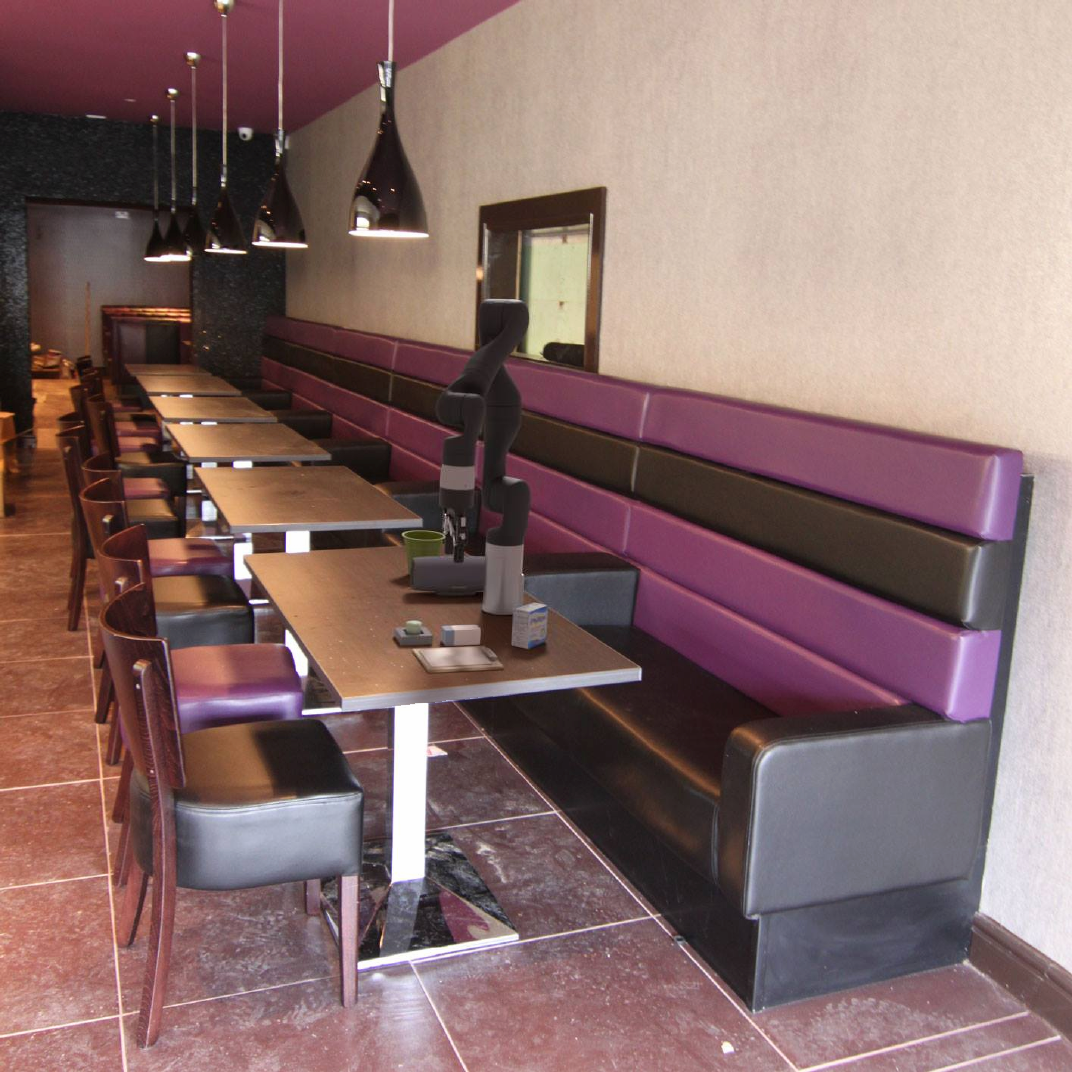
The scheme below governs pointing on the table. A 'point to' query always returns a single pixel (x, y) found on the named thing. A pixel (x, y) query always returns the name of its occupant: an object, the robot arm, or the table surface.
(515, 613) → the medicine box
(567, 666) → the table surface
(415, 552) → the plant pot
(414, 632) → the button
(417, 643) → the button housing
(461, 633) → the white carton blue base
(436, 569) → the bluetooth speaker
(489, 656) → the clipboard
